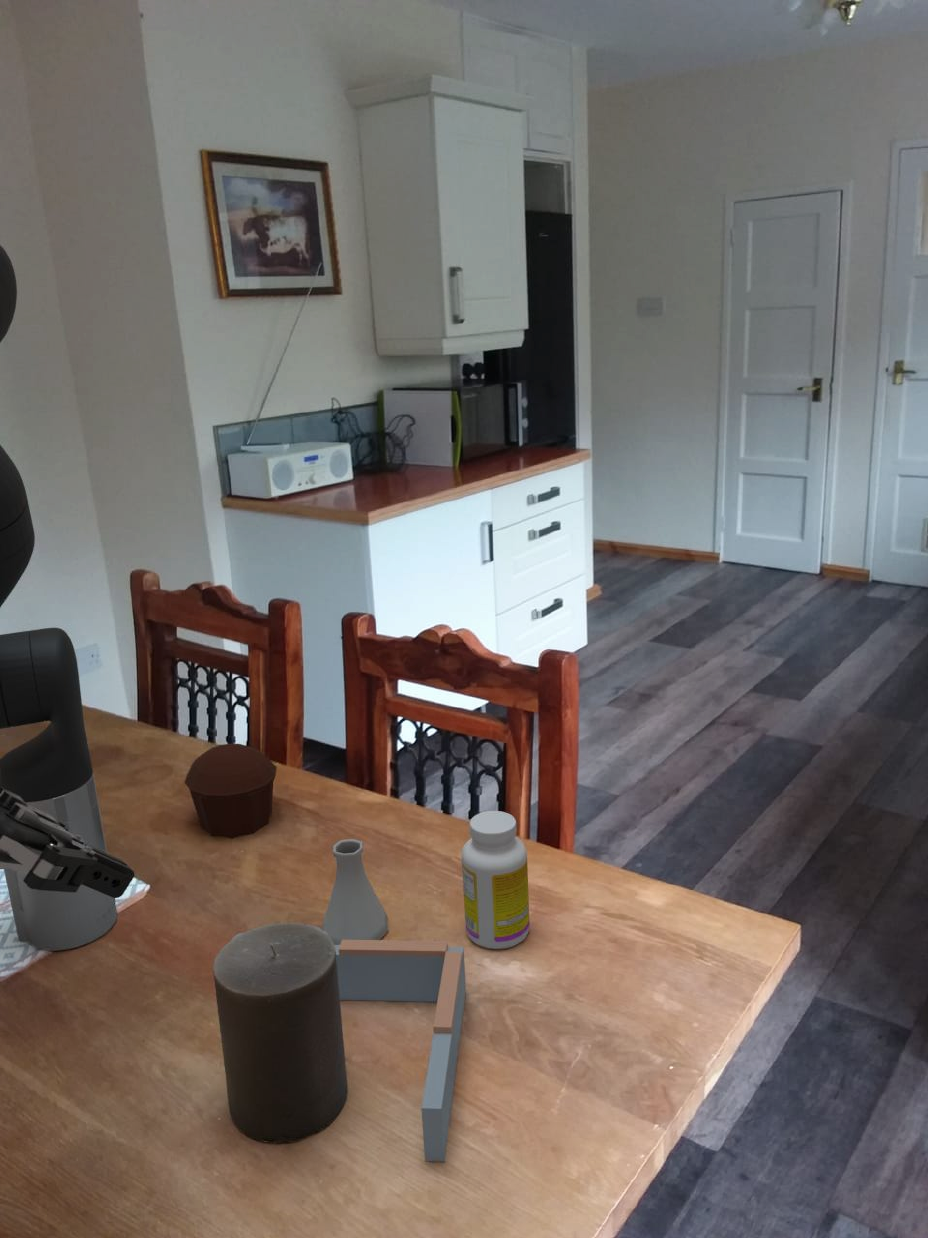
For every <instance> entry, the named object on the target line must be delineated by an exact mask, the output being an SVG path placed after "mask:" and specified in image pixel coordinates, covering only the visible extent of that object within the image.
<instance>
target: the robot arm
mask: <svg viewBox="0 0 928 1238" xmlns="http://www.w3.org/2000/svg"><path fill="white" fill-rule="evenodd" d="M12 263H13V262H12V261H11V259H10V256H9V254H8V253H7V252H6V250H5V248H4V247H3V246H2V245H1V244H0V343H2V341H3V340H4V339H5V336H6V335H7V333H8V332H9V330H10V328H11V325H12V322H13V320H14V316H15V313H16V308H17V300H18V298H17V296H18V292H17V291H18V289H17V287H18V286H17V277H16V273H15V269H14V266H13V264H12ZM27 495H28V494H27V490H26V487H25V483H24V481H23V478H22V475H21V473H20V471H19V469H18V467H17V466H16V464H15V463H14V461H13V460H12V458H11V457H10V456H9V455H8V452H6V450H5V448H3V446H2V445H1V444H0V608H1V607H2V606H3V605H4V604H5V602H6V600H7V599H8V598H9V596H10V595H11V593H12V592H13V591H14V589H15V588H16V586H17V584H18V583H19V582H20V580H21V577H22V576H23V575H24V573H25V571H26V570H27V567H28V566H29V563H30V562H31V559H32V556H33V553H34V549H35V544H36V543H35V542H36V541H35V540H36V539H35V538H36V537H35V536H36V535H35V531H34V529H35V528H34V525H33V518H32V514H31V510H30V509H31V508H30V504H29V500H28V496H27ZM78 667H79V666H78V660H77V656H76V651H75V647H74V644H73V642H72V640H71V638H70V636H69V634H68V633H67V632H66V631H65V630H64V629H62V628H59V627H46V628H38V629H30V630H23V631H17V632H11V633H3V634H0V729H9V728H15V727H20V726H26V725H32V724H39V723H44V722H50V723H49V724H48V725H47V726H46V727H45V728H44V729H43V730H42V731H41V732H40V733H38V734H37V735H36V736H34V737H33V738H31V739H29V740H28V741H26V742H24V743H22V744H20V745H19V746H17V747H15V748H13V749H11V750H9V751H8V752H7V753H6V754H4V755H3V756H2V757H1V758H0V870H3V873H4V878H5V880H6V887H7V892H8V896H9V901H10V907H11V911H12V915H13V919H14V924H15V930H16V935H17V939H18V941H19V942H27V943H29V944H30V945H31V946H33V947H35V948H37V949H40V950H44V951H63V950H65V951H66V950H70V949H74V948H77V947H80V946H83V945H87V944H89V943H91V942H93V941H95V940H97V939H98V938H100V937H103V935H105V934H106V933H107V932H109V931H110V929H111V928H112V927H113V926H114V925H115V923H116V921H117V920H118V919H117V918H118V910H117V905H116V901H117V899H119V898H120V897H122V896H123V895H124V893H125V892H126V890H127V889H128V887H129V886H130V884H131V883H132V881H133V880H134V878H135V872H134V870H133V869H132V868H131V867H130V866H128V864H127V863H126V862H125V861H124V860H122V859H120V858H118V857H116V856H113V855H111V854H109V853H108V850H107V845H106V838H105V833H104V827H103V821H102V815H101V810H100V809H101V808H100V804H99V798H98V792H97V786H96V782H95V781H96V780H95V775H94V769H93V764H92V759H91V754H90V749H89V744H88V738H87V734H86V728H85V720H84V711H83V710H84V709H83V702H82V701H83V700H82V692H81V691H82V690H81V683H80V675H79V668H78Z"/></svg>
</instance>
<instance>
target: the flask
mask: <svg viewBox="0 0 928 1238" xmlns="http://www.w3.org/2000/svg"><path fill="white" fill-rule="evenodd" d="M363 842H364V841H362V840H358V839H355V838H349V839H340V840H338V841H337V842H336V843H334V844H333V845H332V855H333V857H334V858H336V873H335V880H334V883H333V887H332V890H331V894H330V898H329V902H328V905H327V909H326V911H325V915H324V917H323V923H322V928H321V930H323V931H326V932H327V933H328V935H329V937H330V938H331V940H332V941H333V943H334V945H340V944H341V941H342V940H381V939H382V937H384V936H385V935H386V934H387V933H388V931H389V926H388V925H389V924H388V923H389V922H388V915H387V912H386V910H385V908H384V906H383V905H382V903H381V901H380V899H379V898H378V896H377V894H376V893H375V890H374V888H373V886H372V884H371V882H370V880H369V878H368V876H367V873H366V871H365V868H364V864H363V860H362V853H363V852H364V843H363Z"/></svg>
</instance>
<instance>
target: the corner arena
mask: <svg viewBox="0 0 928 1238" xmlns="http://www.w3.org/2000/svg"><path fill="white" fill-rule="evenodd" d="M448 945H449V944H448V941H447V940H403V939H402V940H400V939H398V940H396V939H395V940H391V939H389V940H387V939H386V940H385V939H379V940H342V941H341V944H340V945H334V946H335V950H336V961H337V972H338V984H339V995H340V1001H373V1002H378V1001H379V1002H414V1003H415V1002H422V1003H423V1002H424V1003H436V1009H435V1014H434V1019H433V1034H432V1041H431V1047H430V1052H429V1053H430V1054H429V1059H428V1066H427V1072H426V1079H425V1084H424V1090H423V1095H422V1101H421V1109H420V1110H421V1118H422V1119H421V1121H422V1137H423V1138H422V1139H423V1150H424V1151H423V1152H424V1153H423V1154H424V1162H443V1163H445V1162H446V1161H445V1160H446V1154H447V1153H446V1152H447V1146H448V1138H449V1137H448V1136H449V1128H450V1121H451V1113H452V1104H453V1097H454V1091H455V1084H456V1083H455V1081H456V1074H457V1066H458V1058H459V1050H460V1041H461V1035H462V1034H461V1033H462V1027H463V1019H464V1009H465V1002H466V994H467V989H466V987H467V985H466V969H465V967H466V966H465V947H464V946H448Z"/></svg>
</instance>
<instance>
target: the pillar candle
mask: <svg viewBox="0 0 928 1238" xmlns="http://www.w3.org/2000/svg"><path fill="white" fill-rule="evenodd" d="M212 970H213V979H214V980H213V981H214V988H215V1000H216V1006H217V1016H218V1022H219V1033H220V1037H221V1039H220V1040H221V1047H222V1055H223V1056H222V1057H223V1066H224V1071H225V1072H224V1073H225V1083H226V1092H227V1101H228V1102H227V1105H228V1110H229V1112H230V1115H231V1118H232V1120H233V1122H234V1124H235V1125H236V1127H237V1129H239V1131H241V1132H242V1133H243V1134H244V1135H245V1136H247V1137H249V1138H252V1139H253V1140H257V1141H259V1142H263V1143H270V1144H271V1143H293V1142H294V1143H295V1142H297V1141H300V1140H304V1139H306V1138H309V1137H310V1136H311V1137H312V1135H315V1134H317V1133H318V1132H320V1131H321V1130H323V1129H324V1128H326V1127H327V1126H328V1125H330V1124H331V1123H332V1122H334V1120H335V1119H336V1118H337V1117H338V1116H339V1114H340V1113H341V1111H342V1110H343V1108H344V1106H345V1105H346V1101H347V1097H348V1078H347V1068H346V1067H347V1066H346V1065H347V1064H346V1055H345V1043H344V1033H343V1032H344V1031H343V1021H342V1020H343V1019H342V1009H341V1008H342V1007H341V1000H340V995H339V984H338V972H337V961H336V950H335V946H334V943H333V941H332V940H331V938H330V937H329V935H328V933H327V932H326V931H323V930H322V928H321V927H319V926H316V925H311V924H309V925H308V924H303V923H299V922H294V923H291V922H278V923H274V924H265V925H262V926H258V927H255V928H252V929H250V930H247V931H245V932H240V933H237V934H236V935H234V936H233V937H232V938H231V940H230V941H228V942H227V943H226V944H225V945H224V946H222V948H221V950H219V952H218V954H217V955H216V957H215V959H214V961H213V966H212Z"/></svg>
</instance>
